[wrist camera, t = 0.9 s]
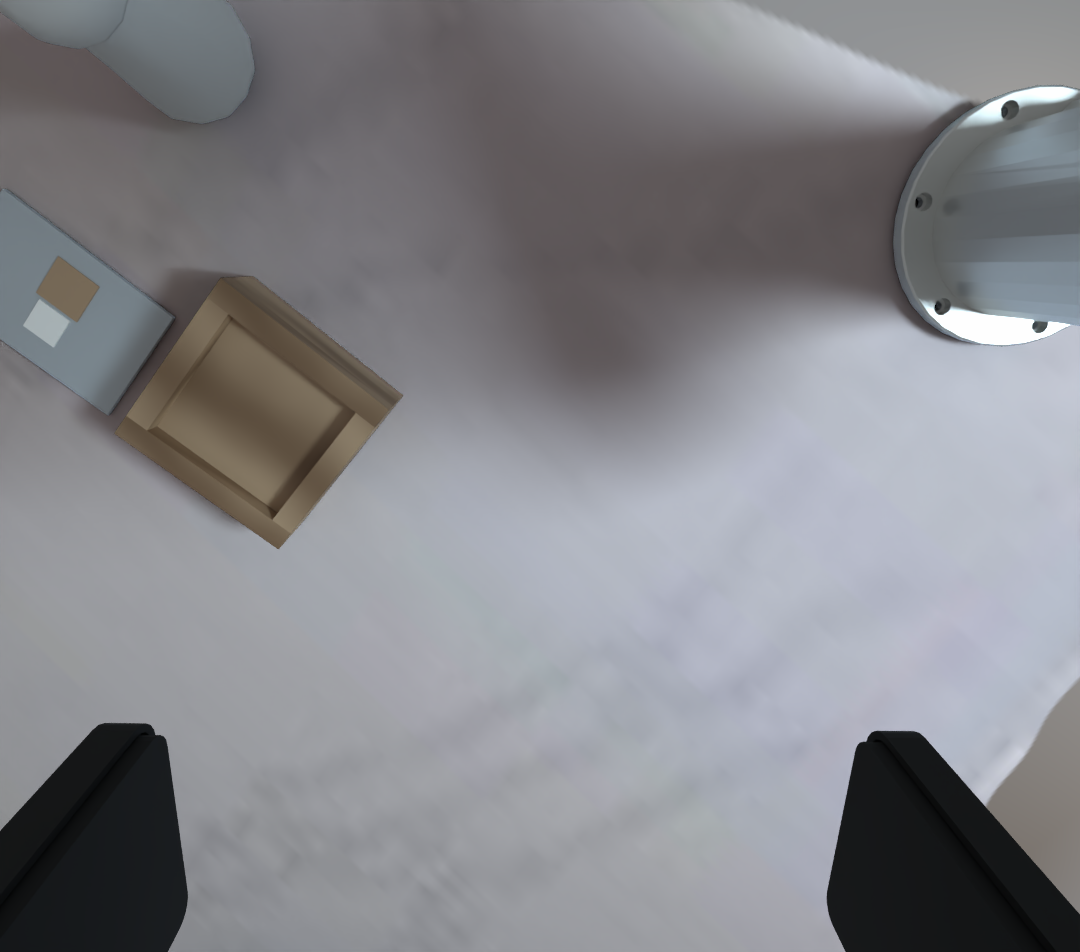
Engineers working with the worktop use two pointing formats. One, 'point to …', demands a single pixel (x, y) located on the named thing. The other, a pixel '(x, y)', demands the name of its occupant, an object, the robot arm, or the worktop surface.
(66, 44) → the salt shaker
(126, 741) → the robot arm
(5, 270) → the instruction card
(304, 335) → the wooden crate
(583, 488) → the worktop surface
